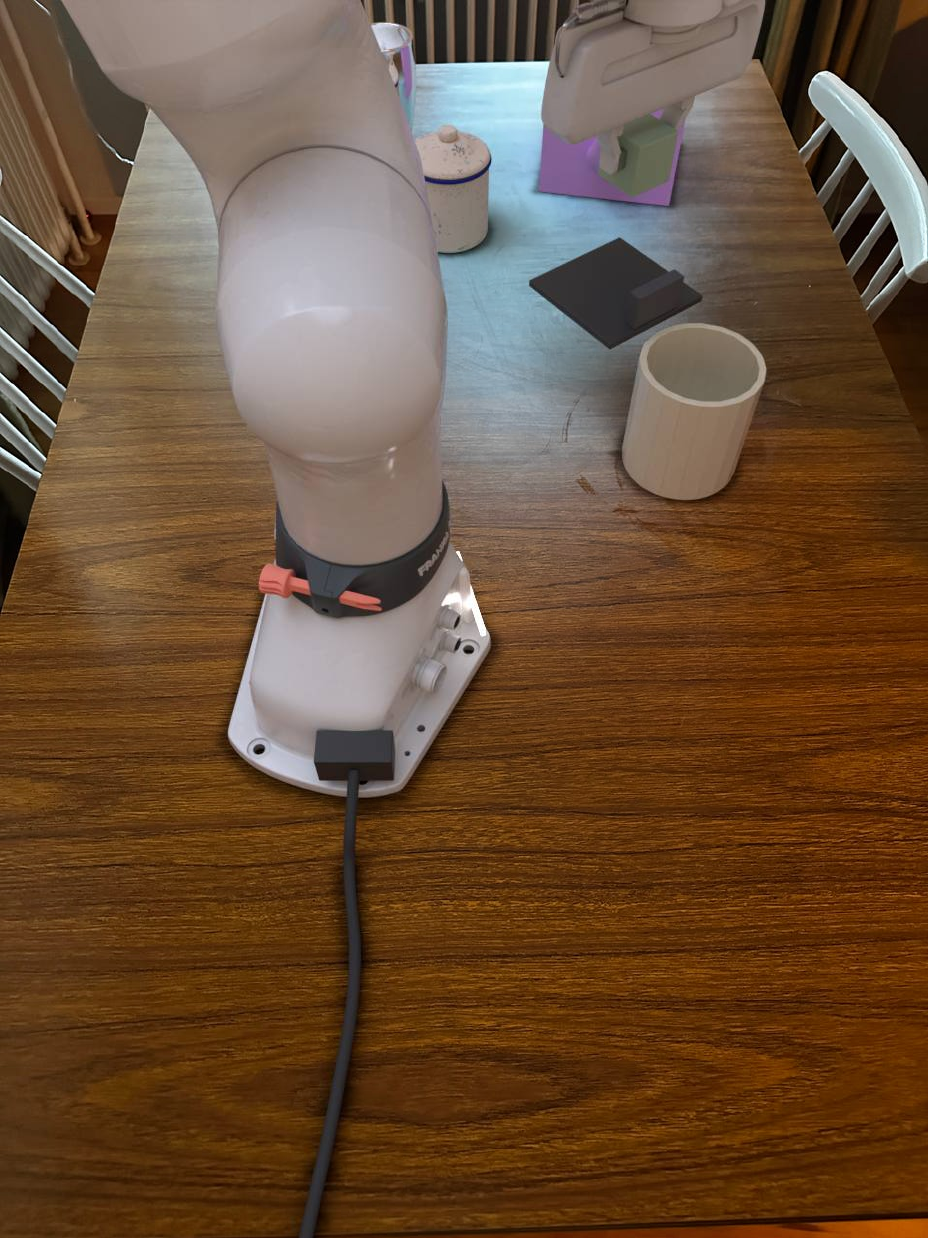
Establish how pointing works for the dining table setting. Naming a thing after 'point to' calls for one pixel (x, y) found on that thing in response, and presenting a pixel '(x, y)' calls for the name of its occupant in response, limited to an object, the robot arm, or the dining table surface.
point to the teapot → (592, 171)
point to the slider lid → (615, 292)
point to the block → (644, 156)
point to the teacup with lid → (456, 187)
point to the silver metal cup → (399, 62)
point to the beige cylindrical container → (691, 409)
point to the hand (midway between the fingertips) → (637, 158)
